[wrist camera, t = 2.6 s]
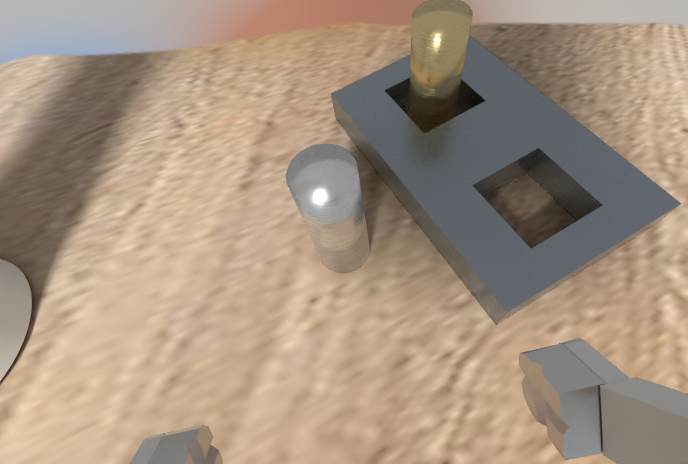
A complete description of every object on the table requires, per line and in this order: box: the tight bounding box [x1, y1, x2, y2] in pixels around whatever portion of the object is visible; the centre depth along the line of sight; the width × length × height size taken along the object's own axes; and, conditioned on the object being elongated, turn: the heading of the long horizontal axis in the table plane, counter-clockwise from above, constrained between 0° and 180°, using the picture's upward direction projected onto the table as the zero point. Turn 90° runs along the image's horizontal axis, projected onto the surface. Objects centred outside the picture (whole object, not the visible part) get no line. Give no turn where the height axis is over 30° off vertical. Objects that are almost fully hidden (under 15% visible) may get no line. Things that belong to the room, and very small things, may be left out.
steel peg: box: [286, 144, 370, 273], centre depth 25 cm, size 4×4×10 cm
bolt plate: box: [331, 0, 681, 324], centre depth 27 cm, size 14×23×10 cm, turn 29°
